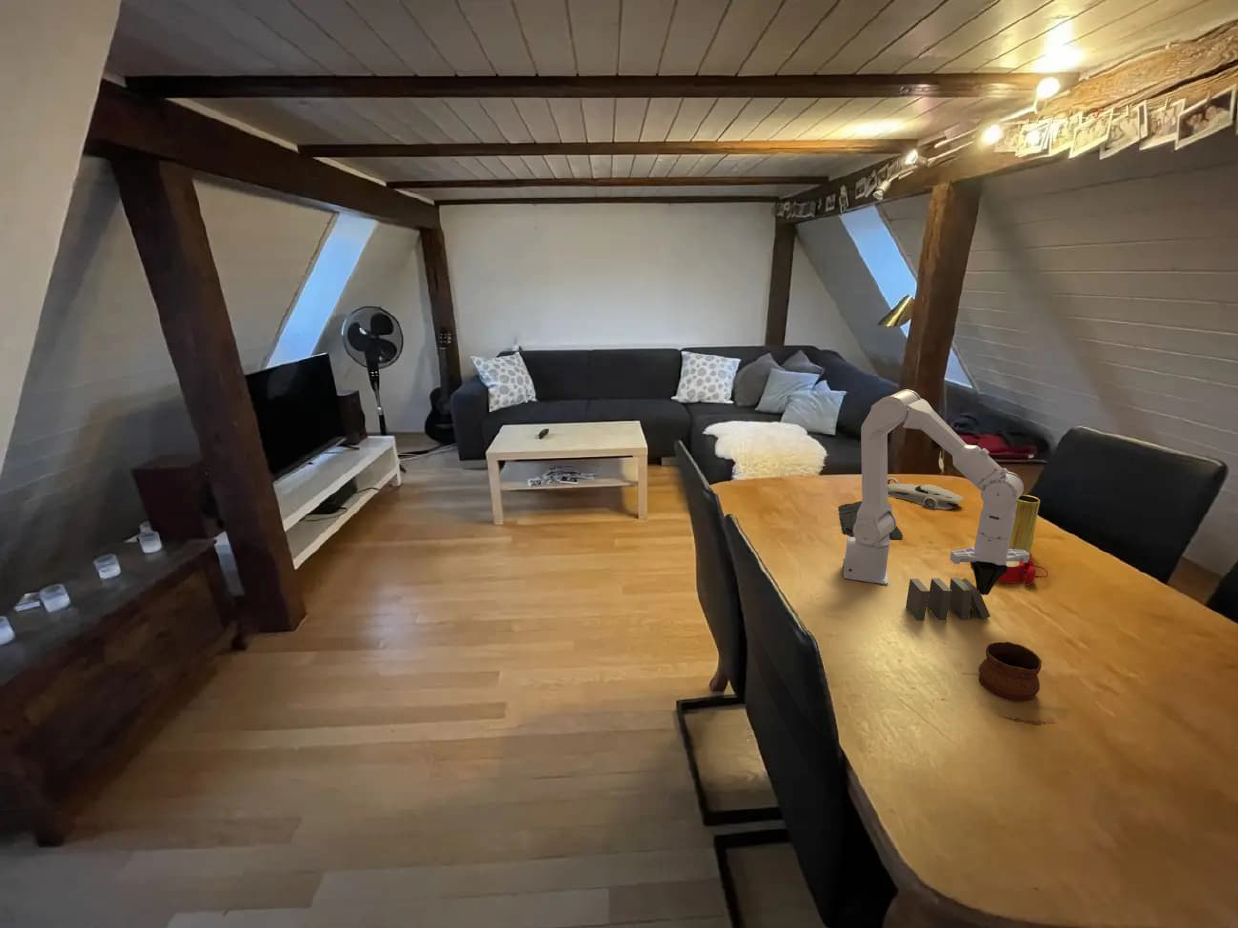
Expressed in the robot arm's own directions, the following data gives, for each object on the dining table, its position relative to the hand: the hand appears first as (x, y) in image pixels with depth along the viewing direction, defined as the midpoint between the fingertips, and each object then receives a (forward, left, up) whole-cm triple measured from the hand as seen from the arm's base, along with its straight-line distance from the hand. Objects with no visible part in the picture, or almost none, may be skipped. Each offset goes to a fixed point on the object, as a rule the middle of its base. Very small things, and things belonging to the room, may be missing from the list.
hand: (982, 592), depth 119 cm
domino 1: (-8, -3, -5) cm, 10 cm away
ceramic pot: (0, -24, -6) cm, 24 cm away
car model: (-6, +65, -6) cm, 65 cm away
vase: (+14, +34, -5) cm, 37 cm away
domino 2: (-4, -1, -5) cm, 6 cm away
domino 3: (0, 0, -4) cm, 5 cm away
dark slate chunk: (-21, +41, -6) cm, 46 cm away
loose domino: (-12, -5, -5) cm, 14 cm away
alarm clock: (+9, +20, -5) cm, 23 cm away
